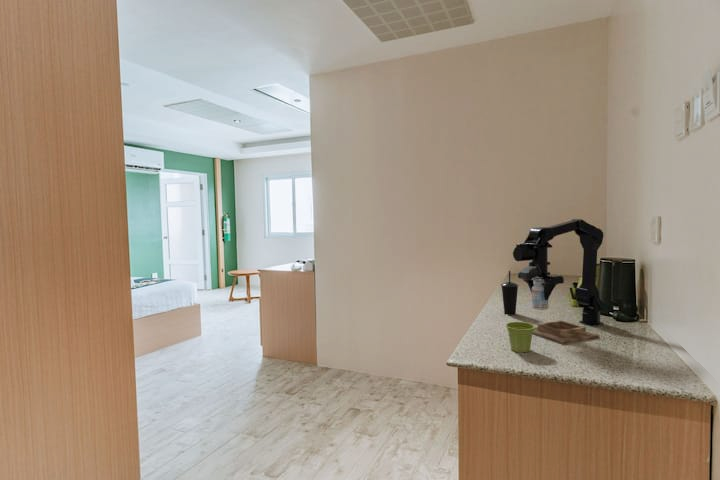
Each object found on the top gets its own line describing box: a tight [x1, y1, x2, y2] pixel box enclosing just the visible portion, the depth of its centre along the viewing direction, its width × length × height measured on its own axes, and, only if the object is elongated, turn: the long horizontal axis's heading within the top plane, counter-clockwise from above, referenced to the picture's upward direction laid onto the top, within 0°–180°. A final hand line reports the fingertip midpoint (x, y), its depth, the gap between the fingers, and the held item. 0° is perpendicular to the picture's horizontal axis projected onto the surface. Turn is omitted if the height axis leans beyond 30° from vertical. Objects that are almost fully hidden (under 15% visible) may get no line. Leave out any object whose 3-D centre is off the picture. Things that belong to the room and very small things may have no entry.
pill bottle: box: [531, 279, 549, 311], centre depth 165 cm, size 6×6×11 cm
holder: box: [532, 320, 600, 345], centre depth 159 cm, size 18×18×4 cm
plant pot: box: [505, 321, 536, 354], centre depth 143 cm, size 9×9×9 cm
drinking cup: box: [500, 270, 519, 316], centre depth 192 cm, size 8×8×20 cm
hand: (540, 298), depth 165 cm, fingers closed on pill bottle, 6 cm apart
